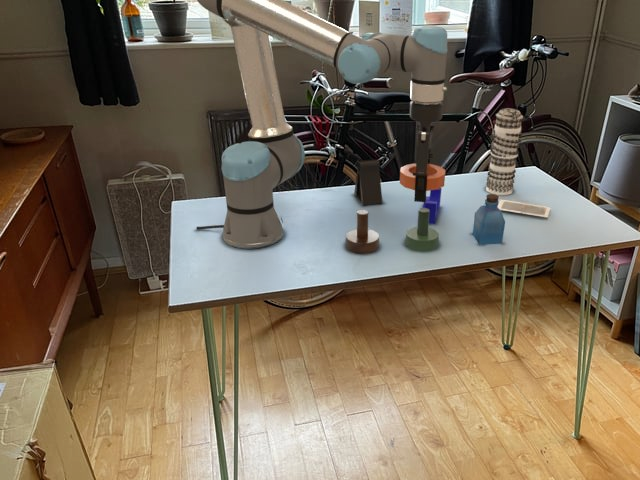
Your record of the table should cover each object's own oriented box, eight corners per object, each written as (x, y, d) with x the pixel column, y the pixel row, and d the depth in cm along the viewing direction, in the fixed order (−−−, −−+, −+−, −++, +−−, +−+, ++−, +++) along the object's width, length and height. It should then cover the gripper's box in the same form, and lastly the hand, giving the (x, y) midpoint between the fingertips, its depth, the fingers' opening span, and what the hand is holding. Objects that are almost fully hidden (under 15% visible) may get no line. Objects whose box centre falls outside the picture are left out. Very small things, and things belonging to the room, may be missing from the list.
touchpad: (499, 202, 176) (500, 195, 175) (550, 210, 172) (551, 203, 171) (494, 212, 170) (495, 205, 168) (547, 220, 165) (548, 213, 164)
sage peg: (404, 250, 148) (406, 215, 143) (407, 235, 155) (408, 202, 150) (437, 252, 147) (440, 218, 142) (438, 238, 154) (441, 204, 149)
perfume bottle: (502, 243, 152) (508, 200, 146) (479, 244, 152) (484, 201, 145) (494, 233, 158) (500, 191, 152) (472, 234, 157) (477, 192, 151)
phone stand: (354, 194, 178) (354, 156, 172) (372, 192, 180) (373, 155, 174) (363, 205, 171) (363, 166, 165) (382, 203, 173) (383, 164, 167)
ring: (397, 189, 138) (398, 177, 136) (402, 173, 147) (402, 162, 146) (443, 192, 137) (444, 180, 135) (445, 176, 146) (445, 164, 145)
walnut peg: (343, 252, 146) (342, 217, 141) (349, 237, 153) (348, 204, 148) (376, 255, 145) (377, 220, 140) (380, 240, 152) (381, 206, 147)
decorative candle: (516, 187, 187) (529, 108, 174) (510, 197, 180) (522, 115, 167) (489, 182, 190) (499, 104, 177) (481, 192, 183) (491, 111, 170)
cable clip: (424, 205, 172) (426, 186, 169) (439, 207, 172) (441, 188, 169) (418, 222, 162) (419, 202, 159) (434, 223, 162) (436, 203, 159)
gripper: (441, 115, 122) (434, 212, 133) (445, 90, 142) (438, 176, 153) (405, 113, 122) (402, 210, 134) (414, 89, 142) (410, 175, 154)
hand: (421, 192), depth 143 cm, fingers closed on ring, 11 cm apart
